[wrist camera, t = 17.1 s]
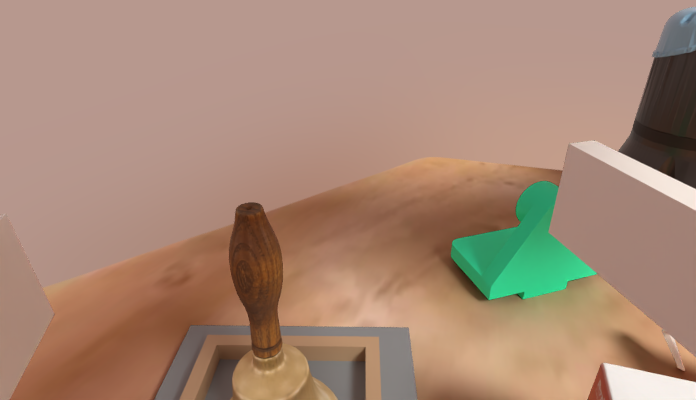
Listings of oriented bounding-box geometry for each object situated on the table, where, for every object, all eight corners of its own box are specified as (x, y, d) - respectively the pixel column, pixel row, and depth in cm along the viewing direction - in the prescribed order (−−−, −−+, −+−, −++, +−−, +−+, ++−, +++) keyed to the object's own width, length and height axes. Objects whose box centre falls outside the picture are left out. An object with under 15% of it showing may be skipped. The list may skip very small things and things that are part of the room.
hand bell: (210, 392, 30) (159, 186, 22) (326, 362, 32) (313, 165, 25) (214, 521, 23) (140, 282, 15) (362, 472, 25) (360, 241, 17)
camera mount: (542, 240, 48) (562, 154, 43) (596, 282, 41) (627, 186, 37) (445, 261, 45) (455, 171, 40) (487, 309, 38) (504, 209, 34)
